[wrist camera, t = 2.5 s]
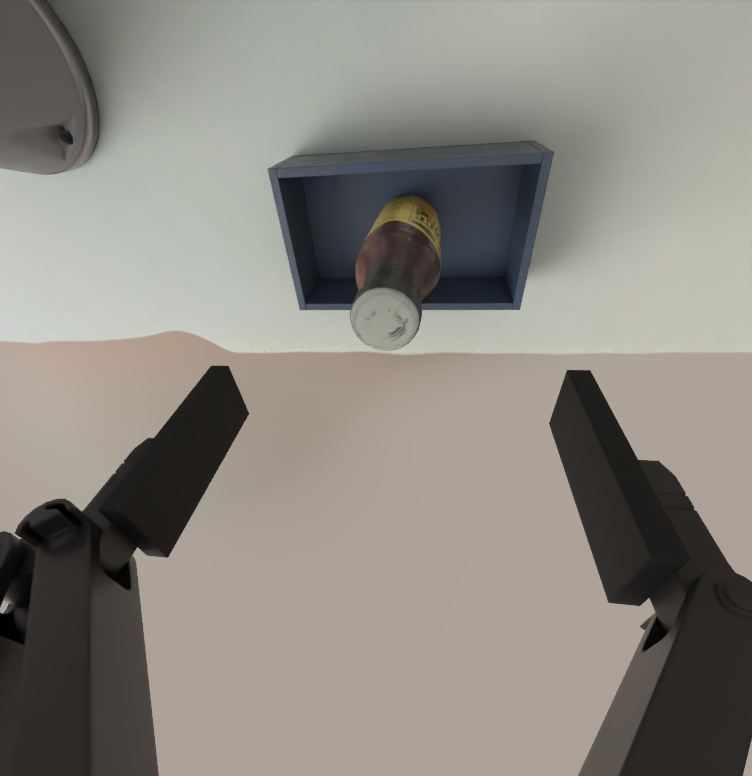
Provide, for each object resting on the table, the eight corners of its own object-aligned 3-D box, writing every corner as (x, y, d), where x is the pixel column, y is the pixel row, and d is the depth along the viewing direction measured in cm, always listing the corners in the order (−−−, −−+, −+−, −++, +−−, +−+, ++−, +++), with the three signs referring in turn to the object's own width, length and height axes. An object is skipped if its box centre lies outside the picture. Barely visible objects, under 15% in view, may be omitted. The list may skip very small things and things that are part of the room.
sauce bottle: (445, 249, 36) (452, 366, 21) (386, 263, 38) (355, 381, 23) (433, 178, 32) (431, 261, 17) (368, 197, 34) (316, 288, 19)
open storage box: (315, 283, 41) (299, 310, 36) (291, 155, 33) (267, 168, 28) (509, 281, 38) (519, 310, 33) (534, 140, 30) (553, 151, 25)
